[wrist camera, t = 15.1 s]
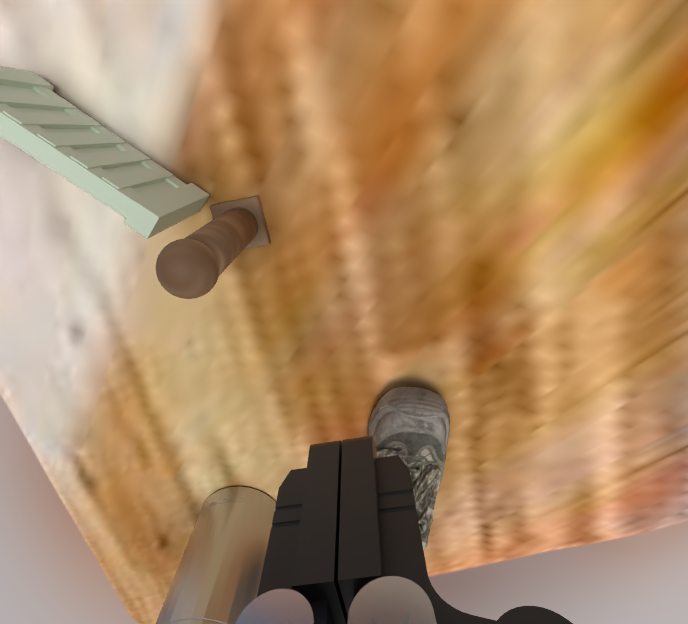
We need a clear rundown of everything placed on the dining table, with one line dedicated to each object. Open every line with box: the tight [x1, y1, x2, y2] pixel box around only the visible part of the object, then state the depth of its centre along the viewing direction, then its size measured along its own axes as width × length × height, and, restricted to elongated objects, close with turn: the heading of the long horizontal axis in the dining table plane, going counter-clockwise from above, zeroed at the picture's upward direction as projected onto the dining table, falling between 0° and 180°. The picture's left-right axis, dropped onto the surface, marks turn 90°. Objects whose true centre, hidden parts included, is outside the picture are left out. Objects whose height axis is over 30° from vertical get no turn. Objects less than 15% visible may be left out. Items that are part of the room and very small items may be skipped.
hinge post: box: [156, 196, 271, 299], centre depth 31 cm, size 4×4×15 cm
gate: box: [0, 66, 209, 239], centre depth 30 cm, size 15×2×10 cm, turn 54°
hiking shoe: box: [368, 387, 450, 551], centre depth 43 cm, size 9×21×12 cm, turn 171°
